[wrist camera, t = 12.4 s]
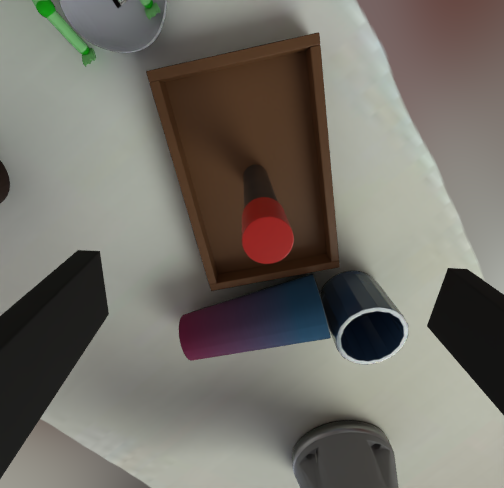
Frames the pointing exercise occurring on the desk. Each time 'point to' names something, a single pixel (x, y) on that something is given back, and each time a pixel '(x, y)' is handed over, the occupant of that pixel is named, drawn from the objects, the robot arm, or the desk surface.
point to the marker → (264, 220)
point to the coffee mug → (3, 182)
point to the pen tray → (251, 152)
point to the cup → (256, 321)
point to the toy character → (49, 11)
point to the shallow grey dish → (115, 23)
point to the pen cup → (362, 318)
